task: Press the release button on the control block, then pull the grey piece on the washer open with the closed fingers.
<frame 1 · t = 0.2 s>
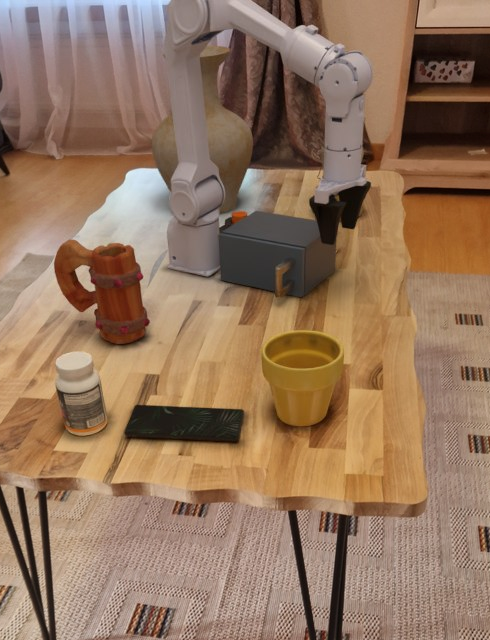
hand: (338, 235, 119), 10 cm above the table, tool pointing down, fingers open, 7 cm apart
pill bottle: (87, 426, 98), on the table
grey piece: (253, 270, 125), point 4 cm above the table, hinge at 0.0°
vase: (206, 205, 165), on the table
flower pot: (301, 415, 98), on the table
smartphone: (185, 427, 96), on the table
mug: (110, 336, 118), on the table
release button: (239, 218, 147), point 3 cm above the table, slide at 0.1 cm
lantern: (338, 213, 157), on the table
control block: (240, 235, 149), on the table
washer: (279, 274, 133), on the table
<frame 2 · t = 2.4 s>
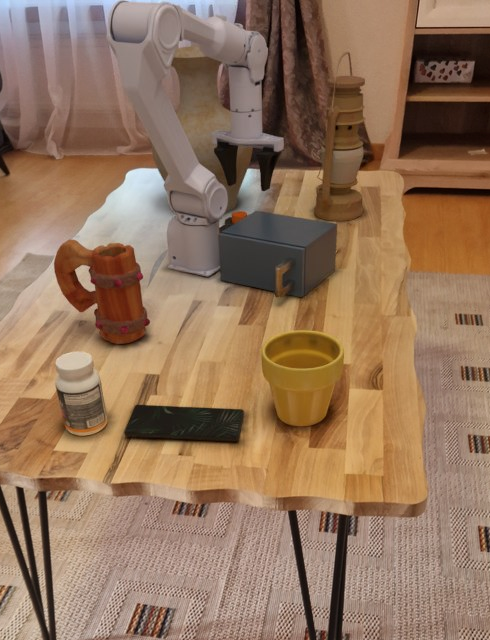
hand: (248, 187, 140), 10 cm above the table, tool pointing down, fingers open, 7 cm apart
nothing on the table moved.
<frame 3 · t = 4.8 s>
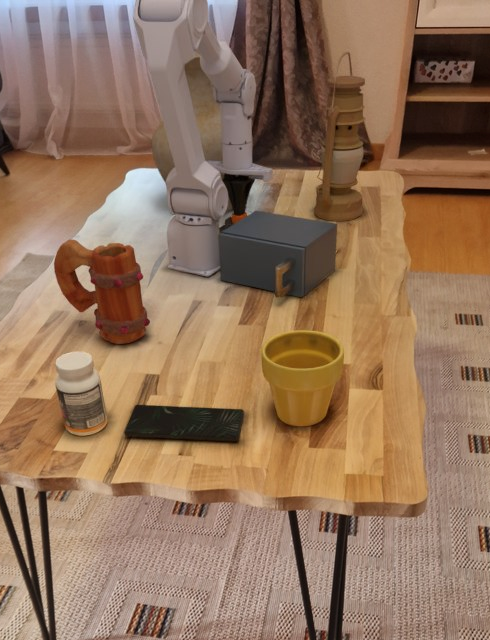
hand: (239, 214, 147), 4 cm above the table, tool pointing down, fingers closed, pressing on release button
release button: (239, 218, 147), point 3 cm above the table, slide at 0.0 cm, touching gripper
everything else where it was.
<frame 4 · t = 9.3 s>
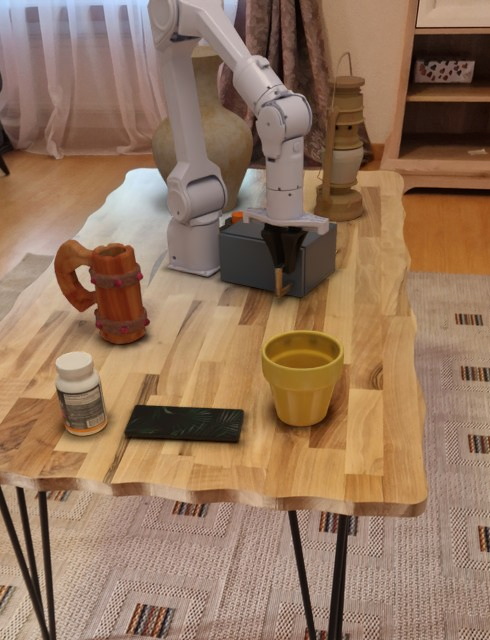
hand: (285, 271, 121), 5 cm above the table, tool pointing down, fingers closed
grey piece: (253, 270, 124), point 4 cm above the table, hinge at 0.2°, touching gripper
release button: (239, 218, 147), point 3 cm above the table, slide at 0.1 cm
everything else where it was.
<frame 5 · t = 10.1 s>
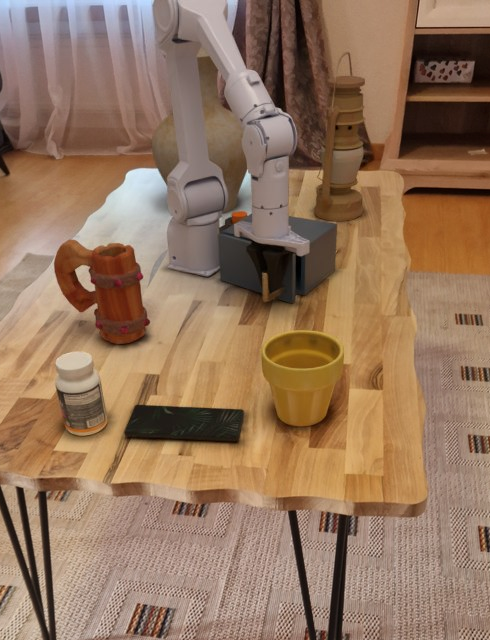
hand: (271, 287, 121), 4 cm above the table, tool pointing down, fingers closed, pressing on grey piece
grey piece: (246, 272, 124), point 4 cm above the table, hinge at 10.0°, touching gripper
everything else where it was.
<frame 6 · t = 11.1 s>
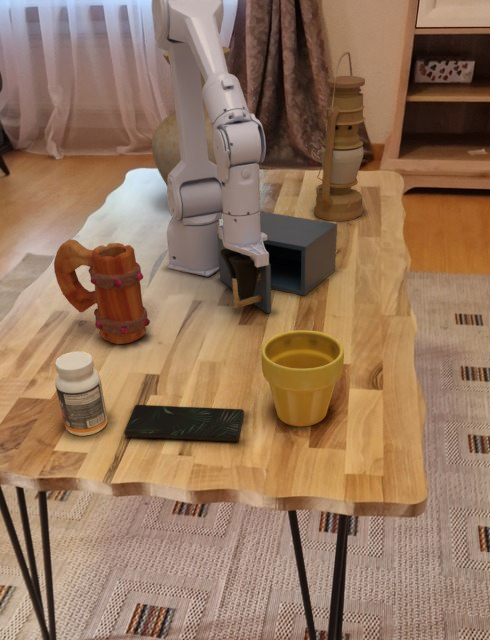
hand: (244, 294, 119), 3 cm above the table, tool pointing down, fingers closed, pressing on grey piece
grey piece: (230, 275, 123), point 4 cm above the table, hinge at 29.2°, touching gripper
everything else where it was.
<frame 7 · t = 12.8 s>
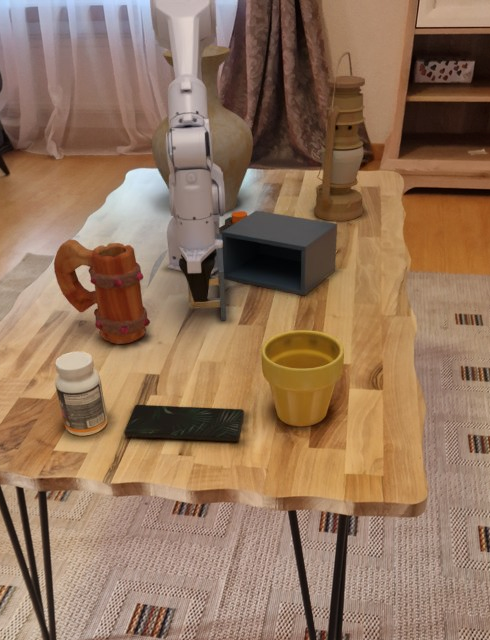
hand: (201, 298, 119), 3 cm above the table, tool pointing down, fingers closed
grey piece: (206, 276, 123), point 4 cm above the table, hinge at 56.3°, touching gripper
everything else where it was.
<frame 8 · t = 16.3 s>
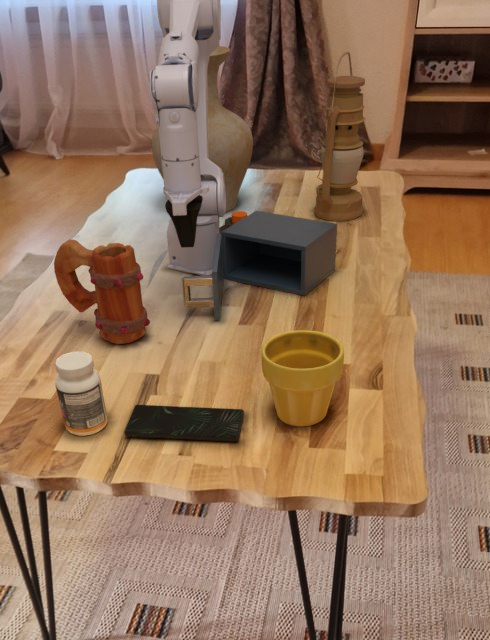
hand: (187, 245, 118), 10 cm above the table, tool pointing down, fingers closed
grey piece: (203, 276, 123), point 4 cm above the table, hinge at 60.0°
everything else where it was.
at the end: release button pushed in 1.2 cm at the most during the clip, back to where it started at the end; release button slide at 0.1 cm; grey piece at +60° (first picture: +0°) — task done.
